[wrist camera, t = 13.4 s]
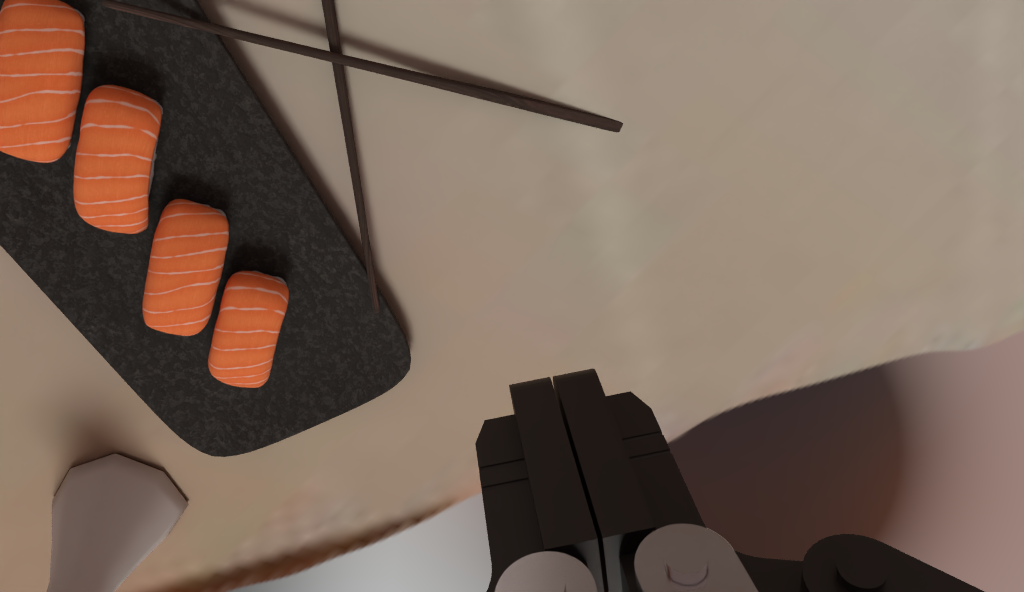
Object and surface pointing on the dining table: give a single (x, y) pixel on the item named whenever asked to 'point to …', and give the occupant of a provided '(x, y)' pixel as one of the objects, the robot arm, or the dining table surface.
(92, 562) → the flask
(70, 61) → the sushi plate
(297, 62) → the dining table surface
